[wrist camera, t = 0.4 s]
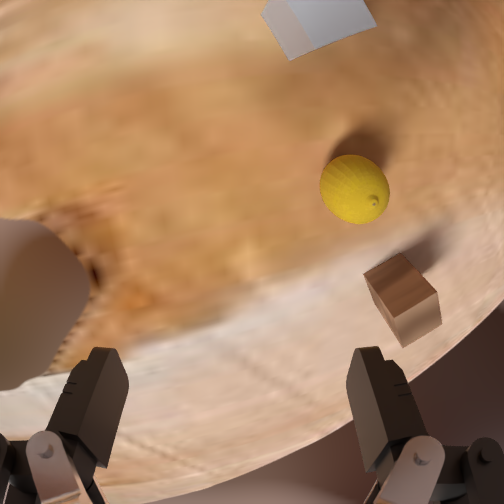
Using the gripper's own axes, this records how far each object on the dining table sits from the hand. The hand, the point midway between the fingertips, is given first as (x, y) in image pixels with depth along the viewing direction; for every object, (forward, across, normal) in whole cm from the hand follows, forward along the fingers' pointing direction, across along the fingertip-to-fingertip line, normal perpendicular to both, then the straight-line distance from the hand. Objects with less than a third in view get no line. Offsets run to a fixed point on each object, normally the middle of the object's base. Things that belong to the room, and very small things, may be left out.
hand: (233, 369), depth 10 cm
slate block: (+22, -5, -14) cm, 27 cm away
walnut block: (+22, -16, +12) cm, 30 cm away
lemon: (+22, -9, 0) cm, 24 cm away
